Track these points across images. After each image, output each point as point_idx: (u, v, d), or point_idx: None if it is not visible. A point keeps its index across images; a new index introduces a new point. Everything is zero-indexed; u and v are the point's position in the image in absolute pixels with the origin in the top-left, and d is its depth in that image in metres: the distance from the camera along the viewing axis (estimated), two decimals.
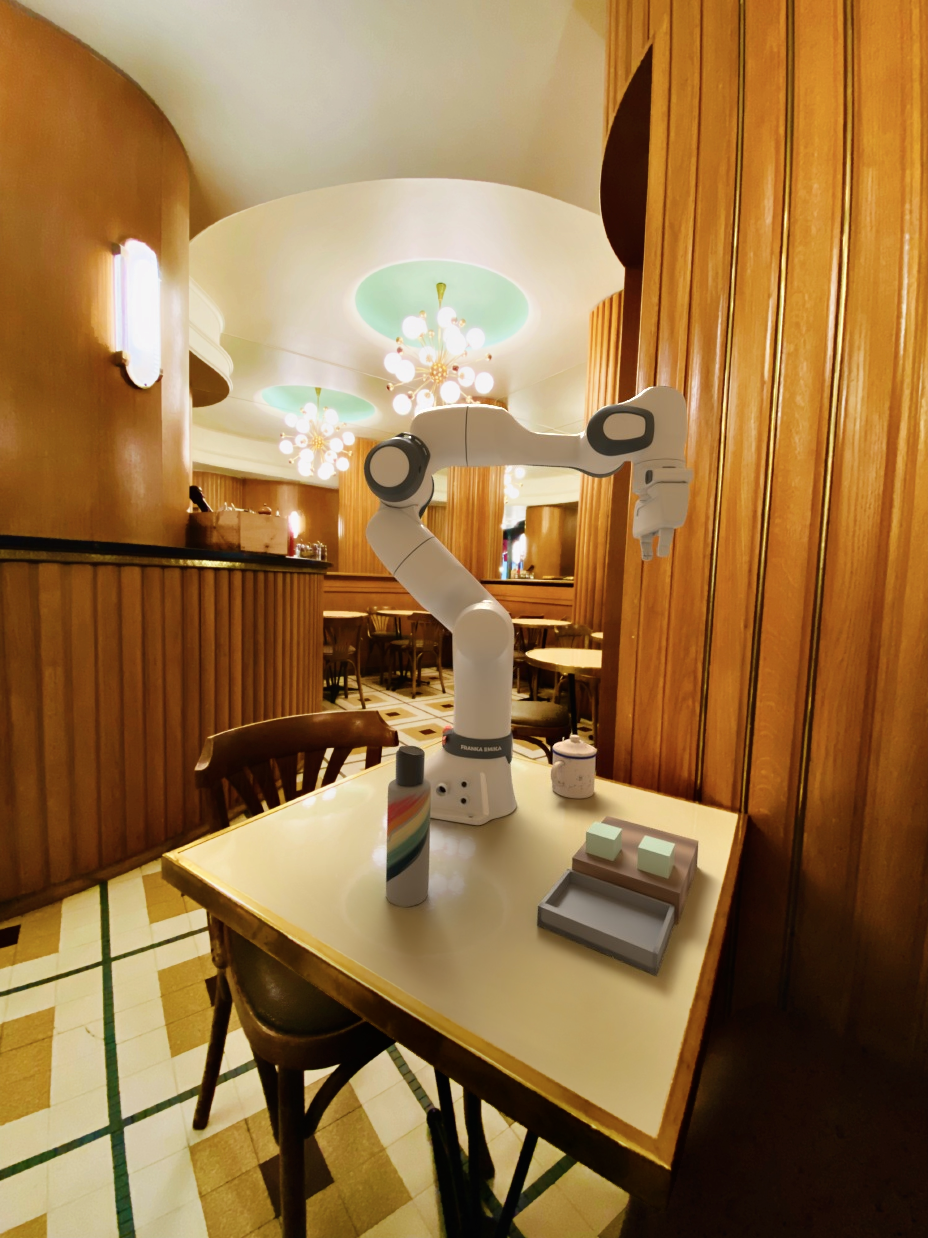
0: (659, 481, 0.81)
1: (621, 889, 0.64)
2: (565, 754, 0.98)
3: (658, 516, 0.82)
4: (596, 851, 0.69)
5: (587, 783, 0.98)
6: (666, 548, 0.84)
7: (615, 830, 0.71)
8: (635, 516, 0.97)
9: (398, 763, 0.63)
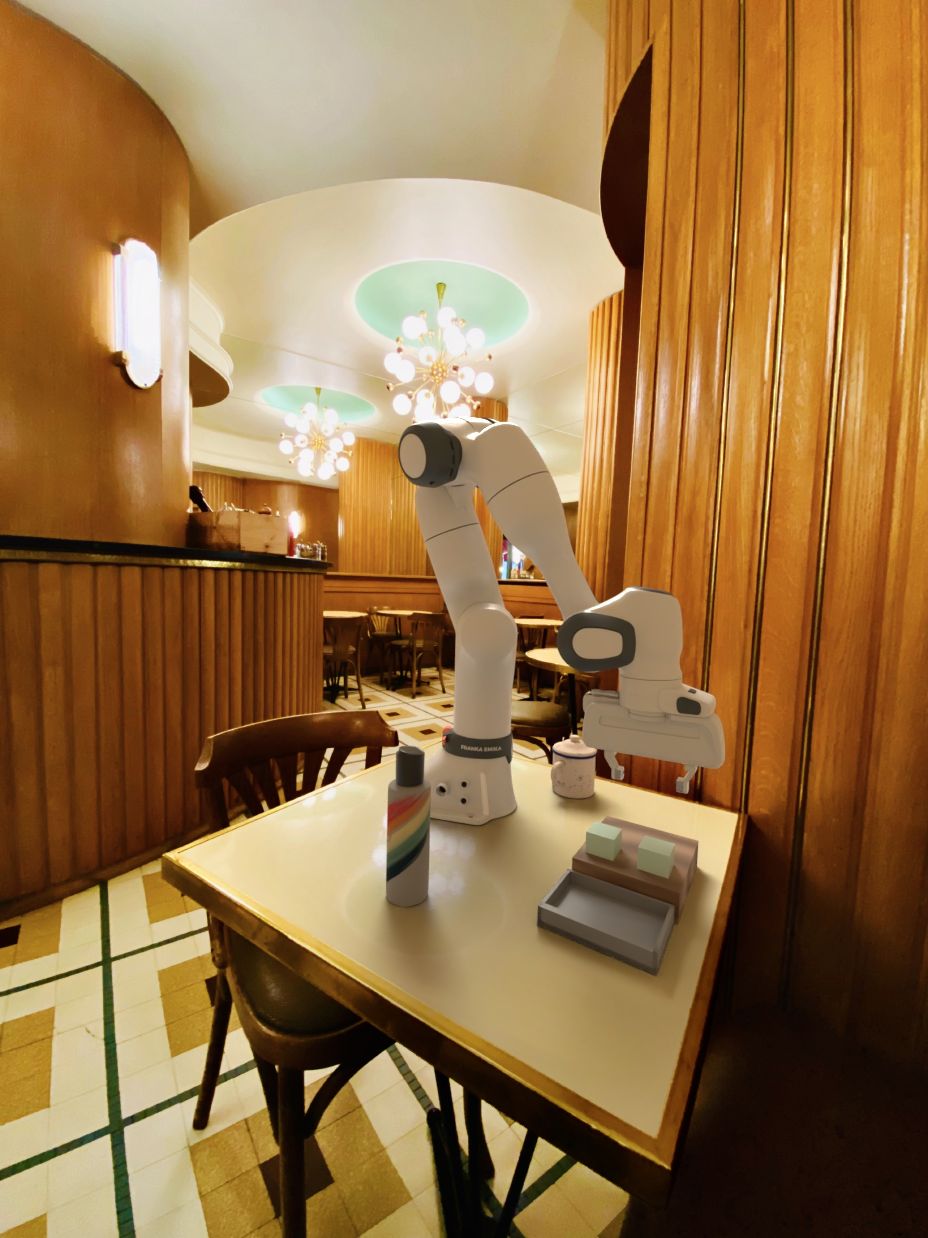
0: None
1: (621, 889, 0.64)
2: (565, 754, 0.98)
3: (701, 754, 0.68)
4: (596, 851, 0.69)
5: (587, 783, 0.98)
6: (688, 782, 0.72)
7: (615, 830, 0.71)
8: (594, 723, 0.77)
9: (398, 763, 0.63)
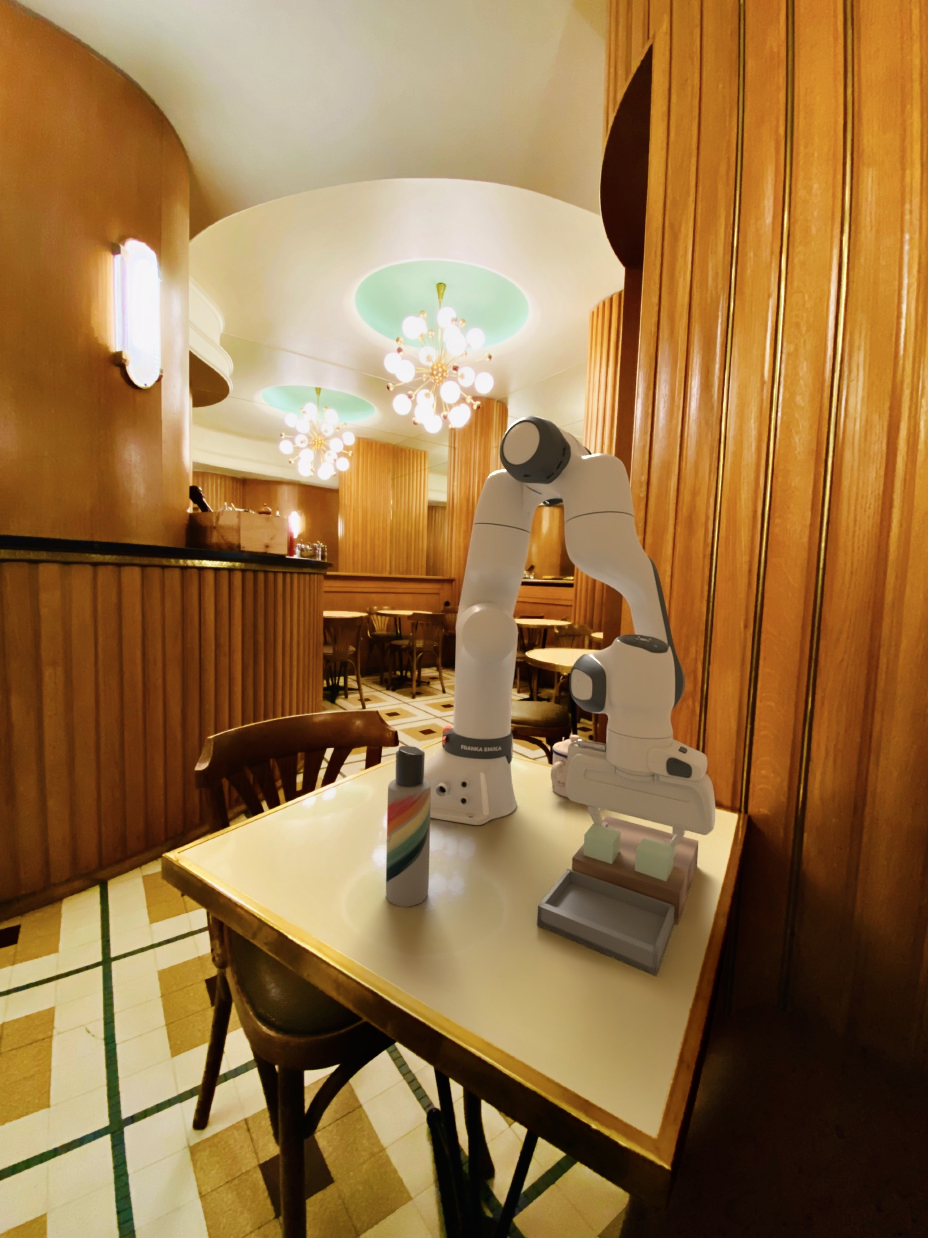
0: None
1: (621, 889, 0.64)
2: (565, 754, 0.98)
3: (690, 819, 0.65)
4: (595, 854, 0.68)
5: None
6: (675, 845, 0.68)
7: (613, 832, 0.70)
8: (579, 776, 0.73)
9: (398, 763, 0.63)
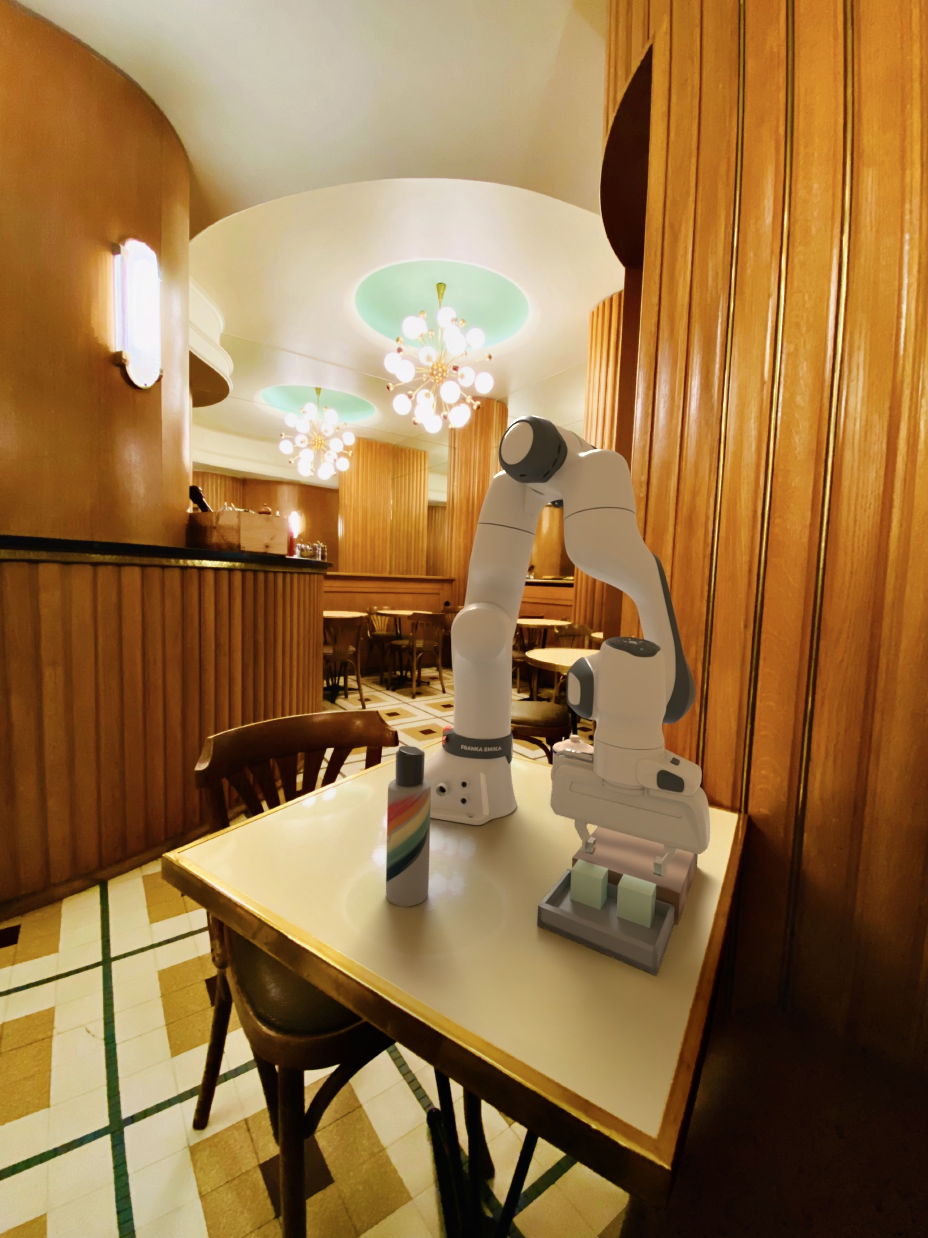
0: None
1: None
2: None
3: (682, 837, 0.60)
4: None
5: None
6: (667, 864, 0.63)
7: (595, 885, 0.62)
8: (564, 788, 0.68)
9: (398, 763, 0.63)
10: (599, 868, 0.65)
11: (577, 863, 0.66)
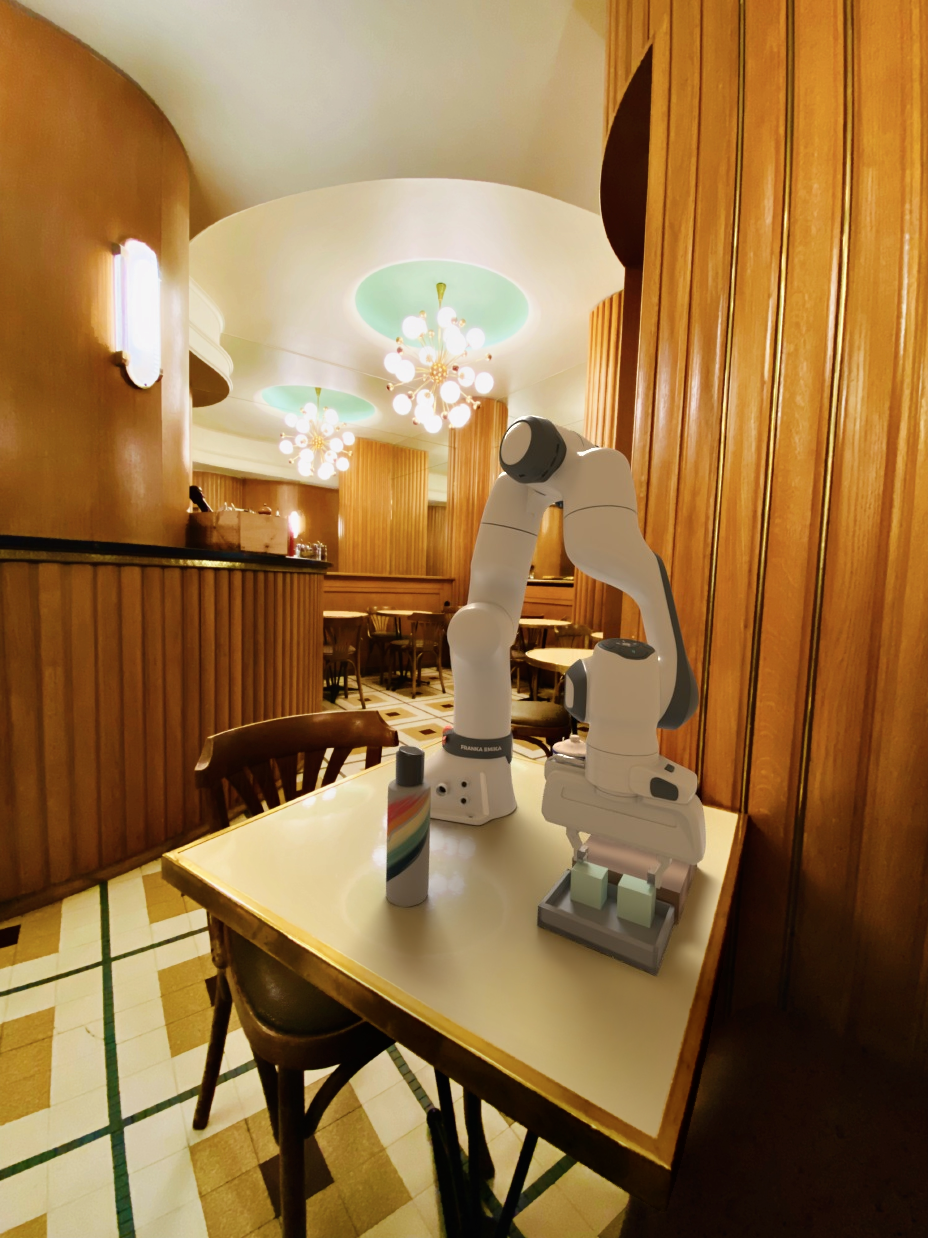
0: None
1: None
2: (565, 754, 0.98)
3: (677, 847, 0.57)
4: None
5: None
6: (661, 875, 0.61)
7: (595, 885, 0.62)
8: (556, 794, 0.66)
9: (398, 763, 0.63)
10: (599, 868, 0.65)
11: (577, 863, 0.66)
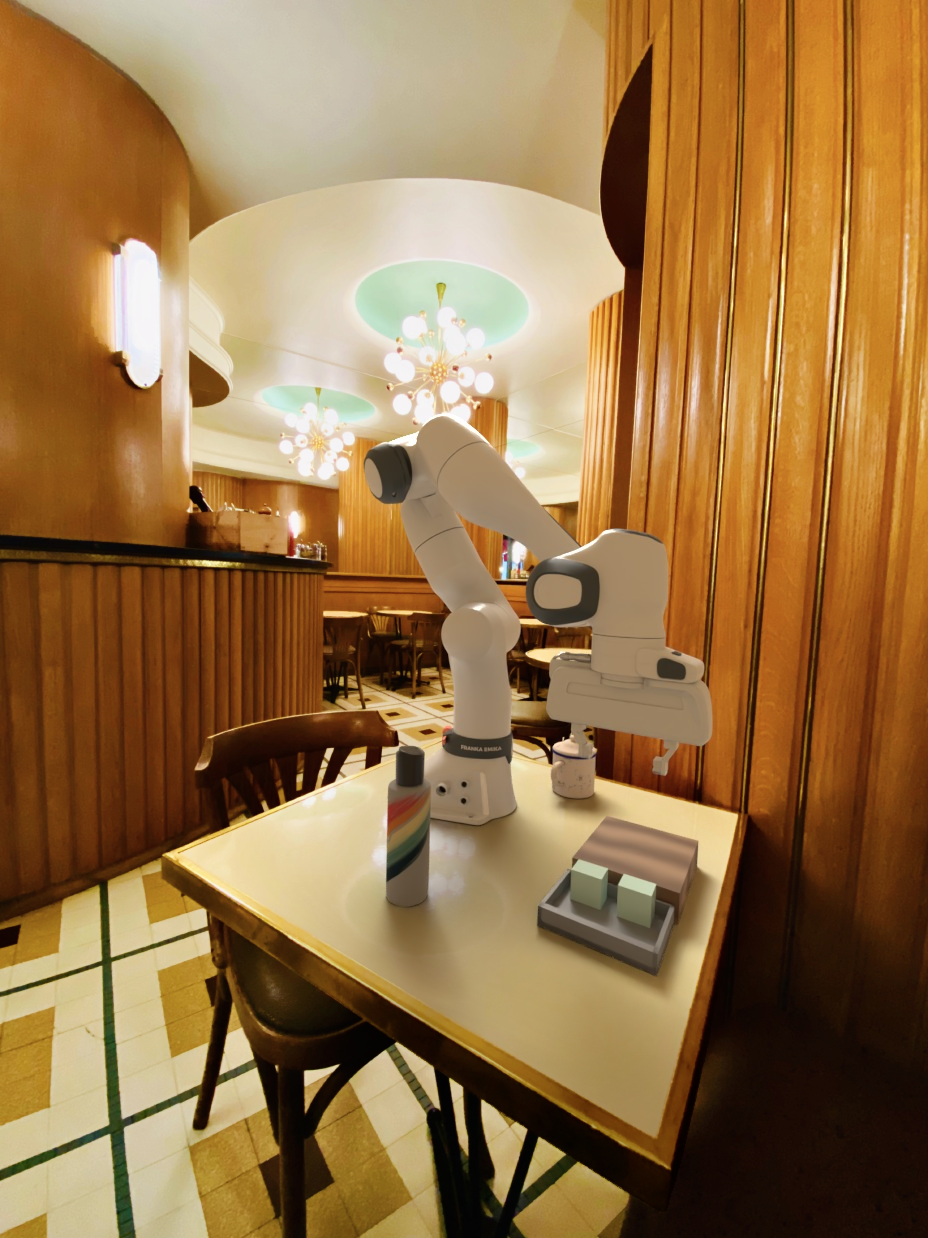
0: None
1: None
2: (565, 754, 0.98)
3: (683, 728, 0.57)
4: None
5: (587, 783, 0.98)
6: (667, 763, 0.60)
7: (595, 885, 0.62)
8: (561, 690, 0.65)
9: (398, 763, 0.63)
10: (599, 868, 0.65)
11: (577, 863, 0.66)
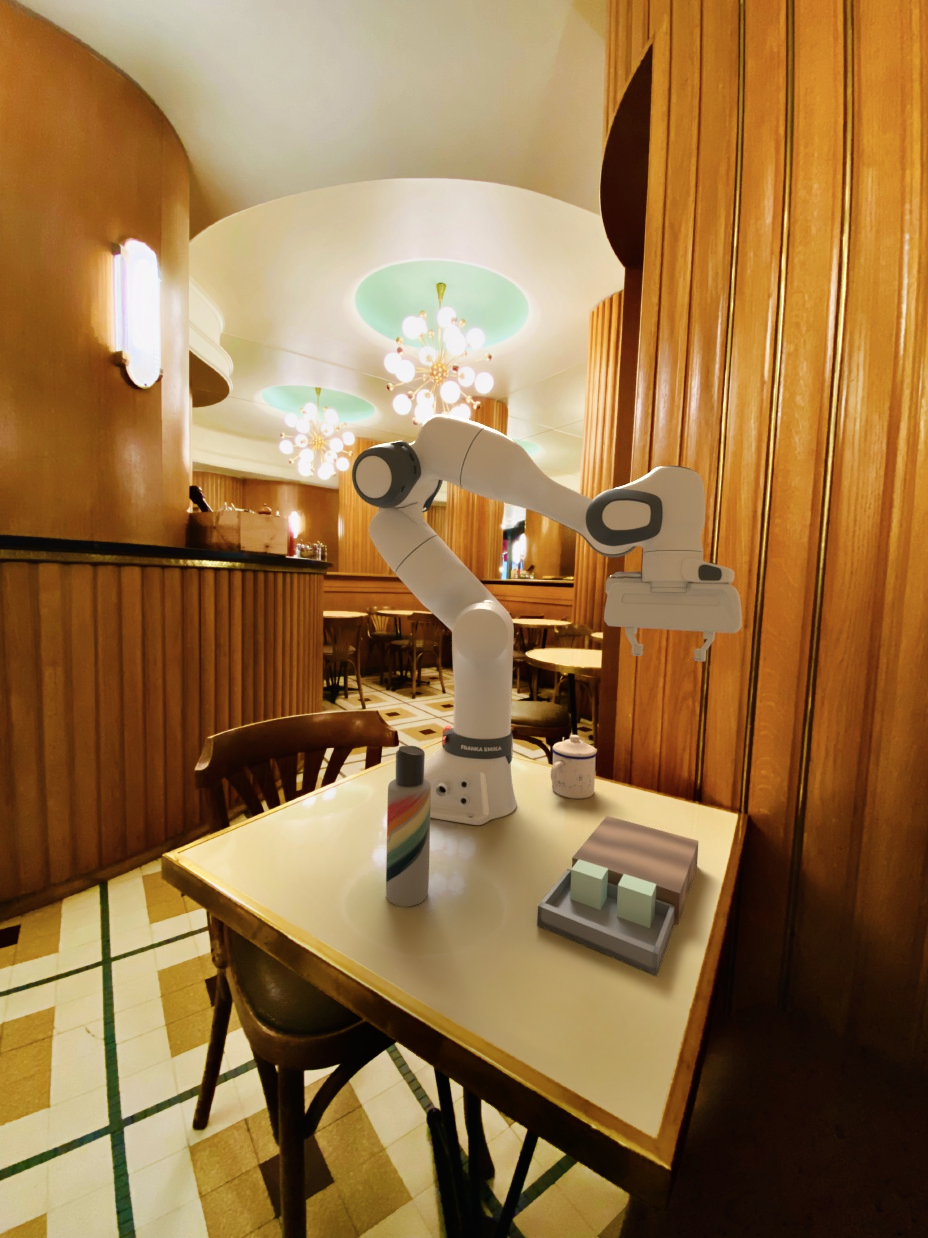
0: (726, 582, 0.72)
1: None
2: (565, 754, 0.98)
3: (719, 620, 0.73)
4: None
5: (587, 783, 0.98)
6: (705, 652, 0.76)
7: (595, 885, 0.62)
8: (617, 601, 0.81)
9: (398, 763, 0.63)
10: (599, 868, 0.65)
11: (577, 863, 0.66)
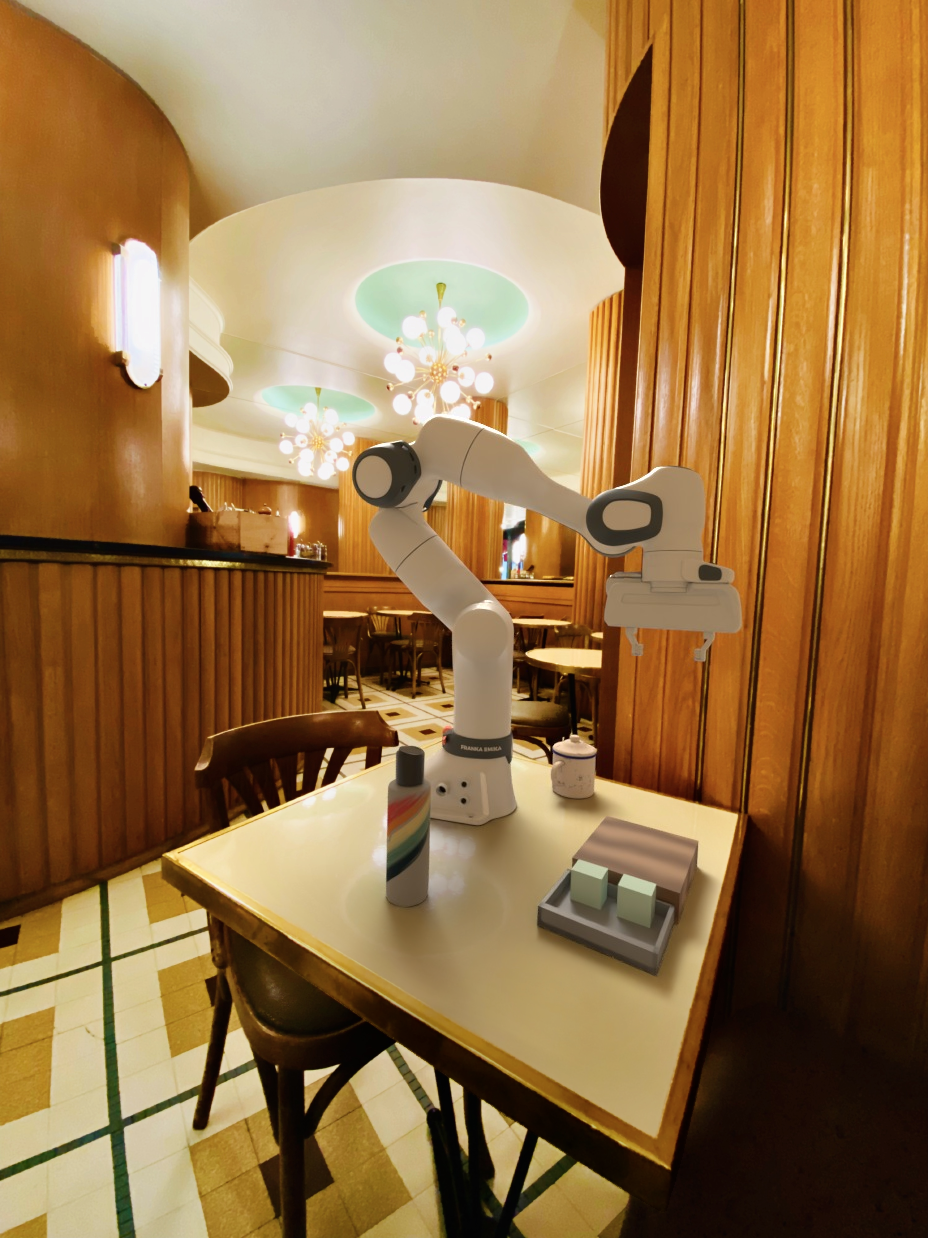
0: (726, 582, 0.72)
1: None
2: (565, 754, 0.98)
3: (719, 620, 0.73)
4: None
5: (587, 783, 0.98)
6: (705, 652, 0.76)
7: (595, 885, 0.62)
8: (617, 601, 0.81)
9: (398, 763, 0.63)
10: (599, 868, 0.65)
11: (577, 863, 0.66)
